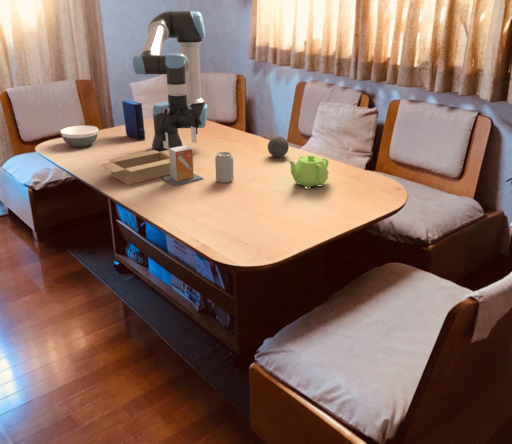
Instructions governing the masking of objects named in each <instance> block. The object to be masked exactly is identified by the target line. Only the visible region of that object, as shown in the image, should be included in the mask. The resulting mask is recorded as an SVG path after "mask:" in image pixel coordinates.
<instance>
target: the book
mask: <svg viewBox="0 0 512 444" xmlns="http://www.w3.org/2000/svg"><path fill="white" fill-rule="evenodd" d="M121 103H122V110H123V117H124V126H125V135H126V136H128V137H130V138H133V139H135V140H137V141H144V140H145V139H146V130H145V124H144V114H143V112H144V111H143V106H142V105H143V104H142V102H137V101H135V100H132V99H131V100H130V99H126V100H123V101H121Z"/></svg>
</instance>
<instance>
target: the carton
mask: <svg viewBox="0 0 512 444" xmlns="http://www.w3.org/2000/svg"><path fill="white" fill-rule="evenodd" d="M108 161H109V162H104V163H100V164H99V165H100V166H102V167H103V168H105V169H107V171H110V174H111V175H110V176H112V177H113V178H116V179H117V180H119V181H121V182H123V183H124V184H125V185H132V184H136V183H139V182H144V181H148V180H152V179H156V178H162V177H166V176H170V175H171V174H170V158H169V150H166V151H161V152H158V151H156V150H153V149H152V150H147V151H141V152H138V153H133V154H129V155H124V156H118V157H115V158H109V159H108Z"/></svg>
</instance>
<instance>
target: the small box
mask: <svg viewBox="0 0 512 444" xmlns="http://www.w3.org/2000/svg"><path fill="white" fill-rule="evenodd" d="M193 152H194V151H193V148H192V147H189V146H188V145H182V146H180V147H175V148H169V158H170V174H169V175H170V176H171V178H172V179H174V180H176V181H181V180H185V179H191V178H194V176H193V173H194V156H193V155H194V154H193Z"/></svg>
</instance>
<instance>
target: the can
mask: <svg viewBox="0 0 512 444" xmlns="http://www.w3.org/2000/svg"><path fill="white" fill-rule="evenodd" d="M214 159H215V161H214V162H215V180H216V181H217V182H218V183H221V184H229V183H231V182H233V180H234V177H235V175H234V156H233V155H232V153H231V152H229V151H220V152H217V153H216V156H215V158H214Z"/></svg>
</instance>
